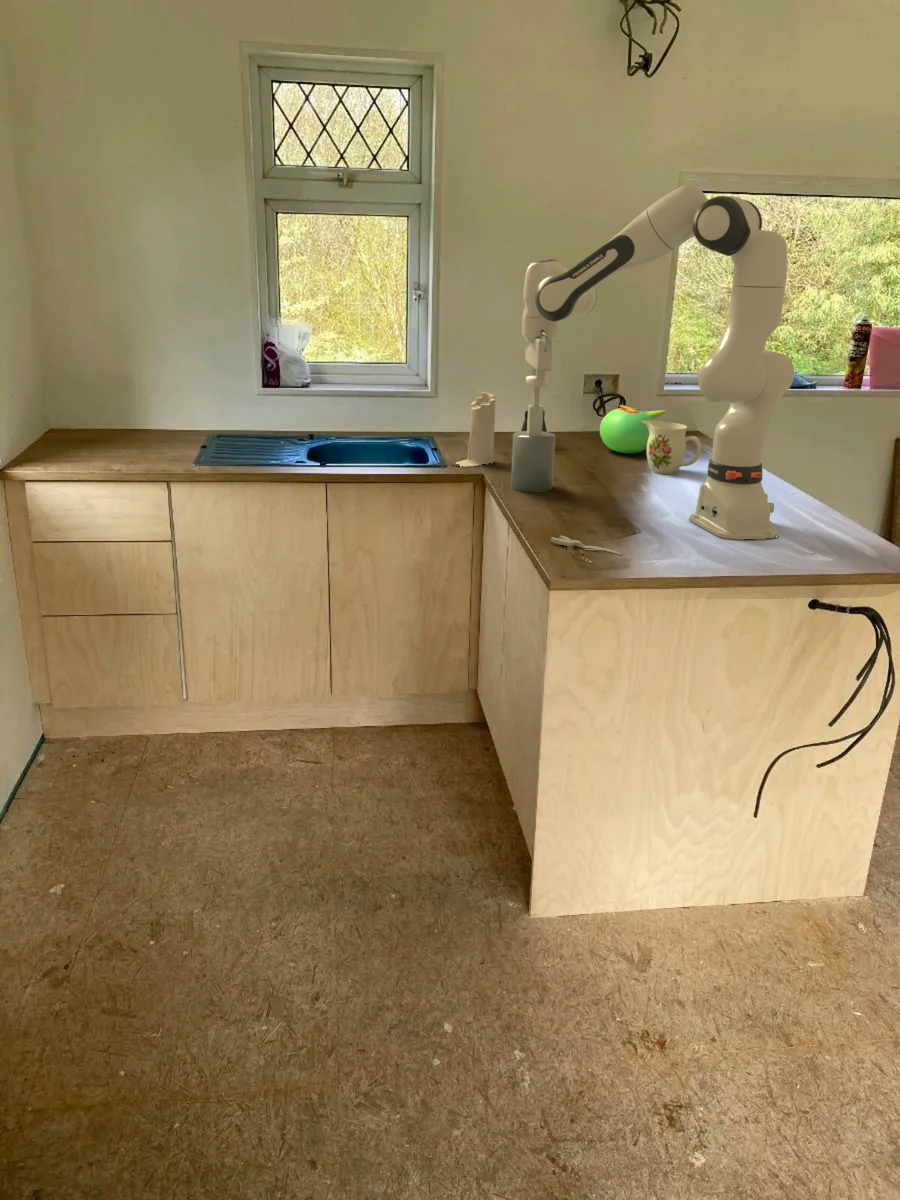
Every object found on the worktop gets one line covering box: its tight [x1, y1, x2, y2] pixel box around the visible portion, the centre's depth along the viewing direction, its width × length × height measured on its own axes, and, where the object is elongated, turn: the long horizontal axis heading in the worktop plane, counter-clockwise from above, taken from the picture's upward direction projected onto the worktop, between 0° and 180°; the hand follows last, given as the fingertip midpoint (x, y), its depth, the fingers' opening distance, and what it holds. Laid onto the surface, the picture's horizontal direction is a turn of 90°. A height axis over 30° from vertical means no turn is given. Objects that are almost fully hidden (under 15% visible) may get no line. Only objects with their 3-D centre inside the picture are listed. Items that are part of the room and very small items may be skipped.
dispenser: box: [510, 404, 556, 493], centre depth 243 cm, size 11×11×22 cm
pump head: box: [525, 375, 549, 407], centre depth 238 cm, size 6×6×9 cm
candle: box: [455, 391, 496, 468], centre depth 268 cm, size 7×14×20 cm, turn 130°
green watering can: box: [599, 404, 667, 455], centre depth 287 cm, size 18×17×15 cm
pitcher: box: [642, 420, 702, 475], centre depth 263 cm, size 11×18×14 cm, turn 58°
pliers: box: [550, 535, 623, 563], centre depth 197 cm, size 10×2×15 cm
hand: (536, 384), depth 237 cm, fingers closed on pump head, 6 cm apart
